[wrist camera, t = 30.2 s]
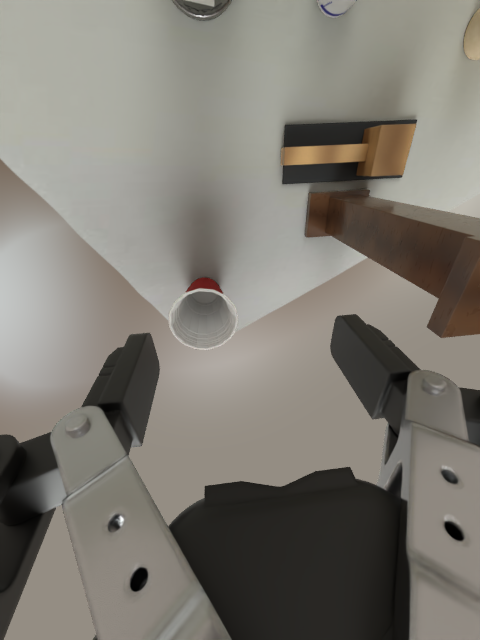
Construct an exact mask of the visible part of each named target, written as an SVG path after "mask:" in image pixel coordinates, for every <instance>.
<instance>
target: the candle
mask: <svg viewBox="0 0 480 640" xmlns="http://www.w3.org/2000/svg"><path fill="white" fill-rule="evenodd" d="M464 51H465V54H466V56H467V57H468V58H469V59H472V60H479V59H480V9H479V10H478V11H477V12H476V13H475V14H474V16H473V17H472V19H471V21H470V22H469V24H468V27H467V29H466V32H465V36H464Z"/></svg>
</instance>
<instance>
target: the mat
mask: <svg viewBox="0 0 480 640" xmlns="http://www.w3.org/2000/svg"><path fill="white" fill-rule="evenodd" d="M416 122H417V120H395V121H371V122H347V123H323V124H299V125H285V135H284V147H301V146H325V145H348V144H362V141H363V135H364V130H365V129H367V128H371V127H376V126H380V125H396V124H416ZM358 163H359V162H344V163H323V164H302V165H283V183H282V184H295V183H313V182H330V181H348V180H365V179H383V178H400V177H402V175H392V176H372V177H370V176H357V175H356V174H357V168H358Z"/></svg>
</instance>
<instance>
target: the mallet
mask: <svg viewBox="0 0 480 640" xmlns="http://www.w3.org/2000/svg"><path fill="white" fill-rule="evenodd" d="M415 128H416V124H396V125H380V126H376V127H371V128H367V129H365V130H364V135H363V141H362V144H348V145H325V146H301V147H284V148H281V165H302V164H323V163H344V162H359V163H358V168H357V174H356V175H357V176H370V177H372V176H392V175H403V172H404V169H405V165H406V161H407V157H408V154H409V150H410V146H411V143H412V139H413V135H414V131H415Z"/></svg>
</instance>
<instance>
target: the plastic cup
mask: <svg viewBox="0 0 480 640" xmlns="http://www.w3.org/2000/svg"><path fill="white" fill-rule="evenodd" d="M237 324H238V314H237V311H236V308H235V305H234V304H233V303H232V302H231V301H230V299H229V298H228V297H227V296H226V295H224V294H223V292H222V290H221V289H220V287H219V285H218V284H217V283H216V282H215V281H214V280H212V279H210V278H199V279H197V280H195V281H194V282H193V283H192V284H191V286H190V287H189V288H188V290H187V291H186V293H184V294H183V295H182V296H181V297H179V298H178V299H177V300H176V301H175V302H174V304H173V306H172V308H171V310H170V312H169V326H170V329H171V331H172V333H173V335H174V337H175V338H177V339H178V340H179V341H180V342H181V343H182V344H184V345H186V346H188V347H191V348H194V349H202V350H209V349H213V348H216V347H219V346H221V345H223V344H224V343H225V342H227V341H228V340H230V339H231V337H232V336H233V334H234V332H235V331H236V329H237Z"/></svg>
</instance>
